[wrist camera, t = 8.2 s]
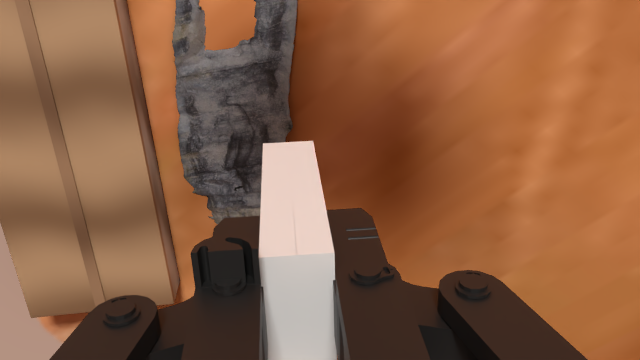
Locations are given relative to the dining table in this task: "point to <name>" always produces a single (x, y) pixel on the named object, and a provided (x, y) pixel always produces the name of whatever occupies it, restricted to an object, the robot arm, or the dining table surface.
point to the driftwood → (232, 104)
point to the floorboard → (79, 159)
